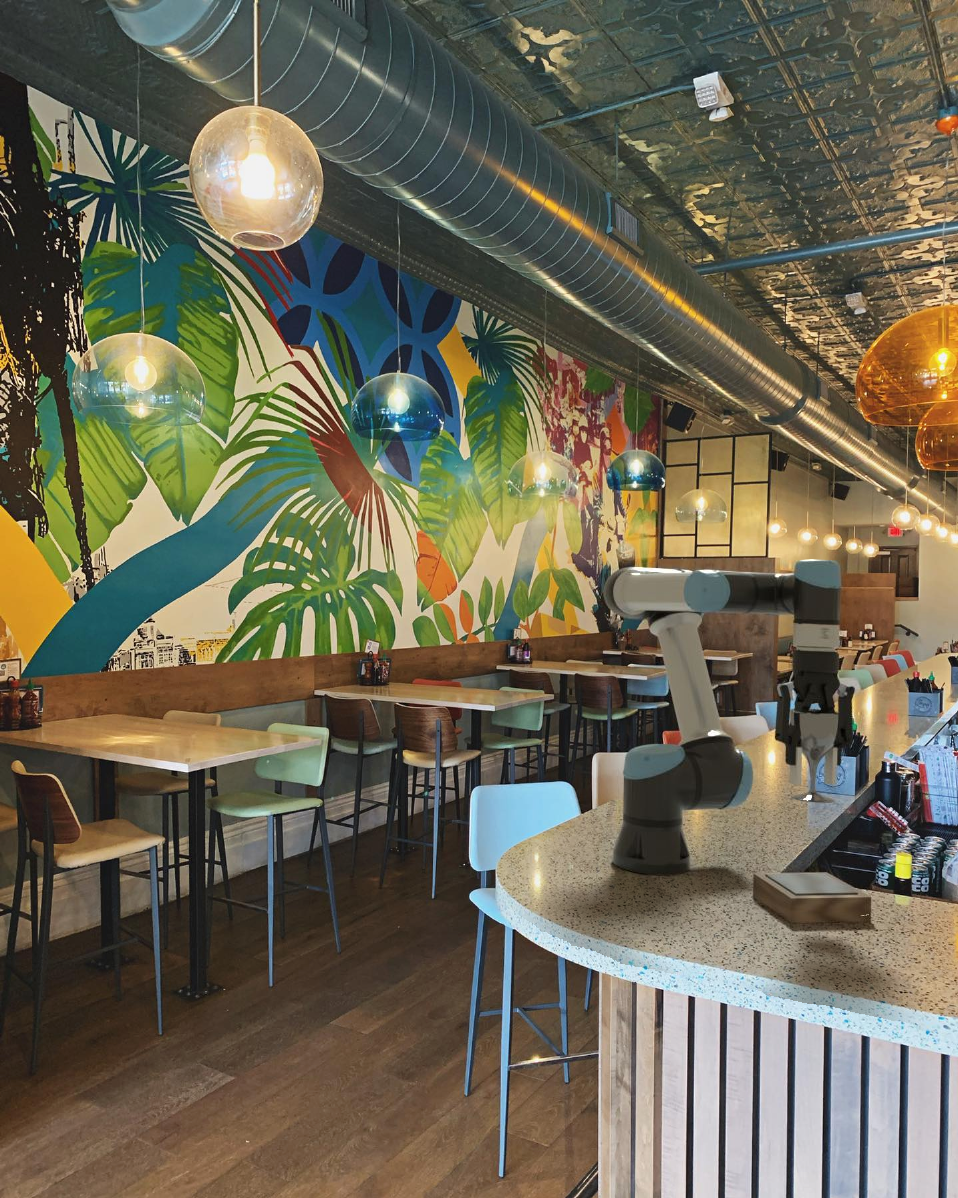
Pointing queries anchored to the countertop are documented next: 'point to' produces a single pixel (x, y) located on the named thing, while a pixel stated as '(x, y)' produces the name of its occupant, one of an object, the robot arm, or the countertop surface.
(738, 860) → the countertop surface
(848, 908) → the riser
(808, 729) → the wine glass
